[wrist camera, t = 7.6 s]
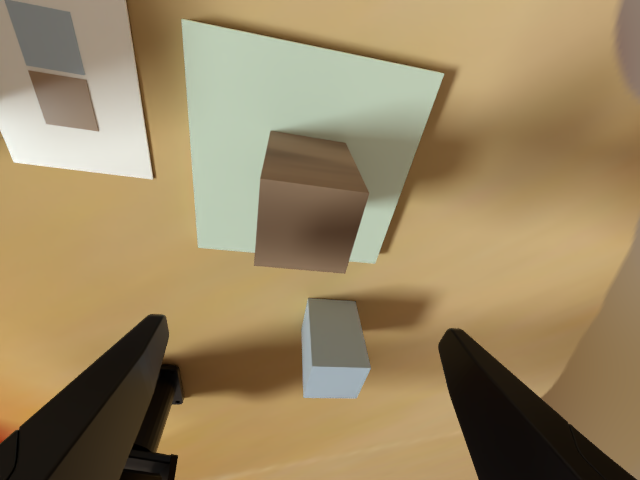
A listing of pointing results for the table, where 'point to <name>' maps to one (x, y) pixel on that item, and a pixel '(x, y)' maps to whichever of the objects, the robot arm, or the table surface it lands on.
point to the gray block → (333, 350)
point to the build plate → (294, 124)
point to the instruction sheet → (71, 87)
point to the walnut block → (308, 204)
